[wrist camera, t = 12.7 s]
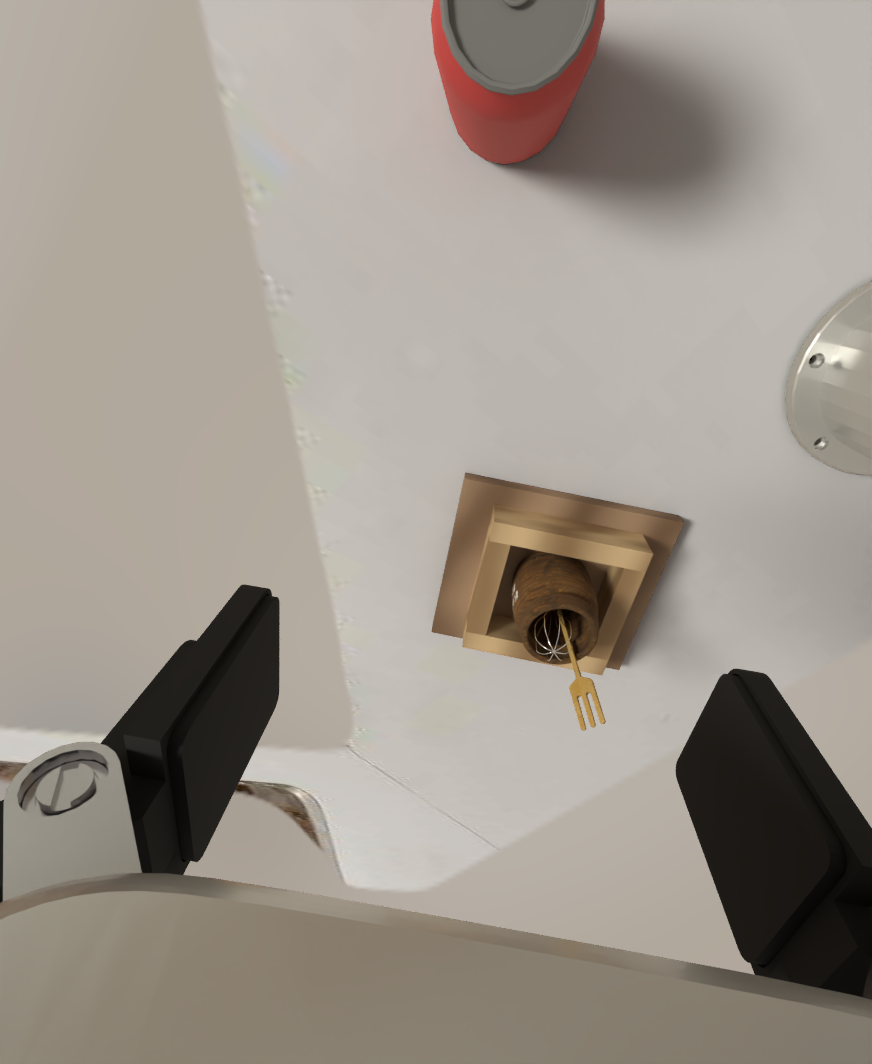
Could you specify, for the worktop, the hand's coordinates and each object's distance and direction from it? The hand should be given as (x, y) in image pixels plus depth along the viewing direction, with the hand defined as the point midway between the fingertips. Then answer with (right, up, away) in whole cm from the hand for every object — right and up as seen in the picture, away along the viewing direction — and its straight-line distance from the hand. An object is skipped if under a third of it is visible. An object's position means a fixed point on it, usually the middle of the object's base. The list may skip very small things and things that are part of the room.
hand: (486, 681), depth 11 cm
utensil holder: (+8, -1, +30) cm, 31 cm away
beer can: (+3, +27, +18) cm, 33 cm away
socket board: (+8, 0, +31) cm, 32 cm away
